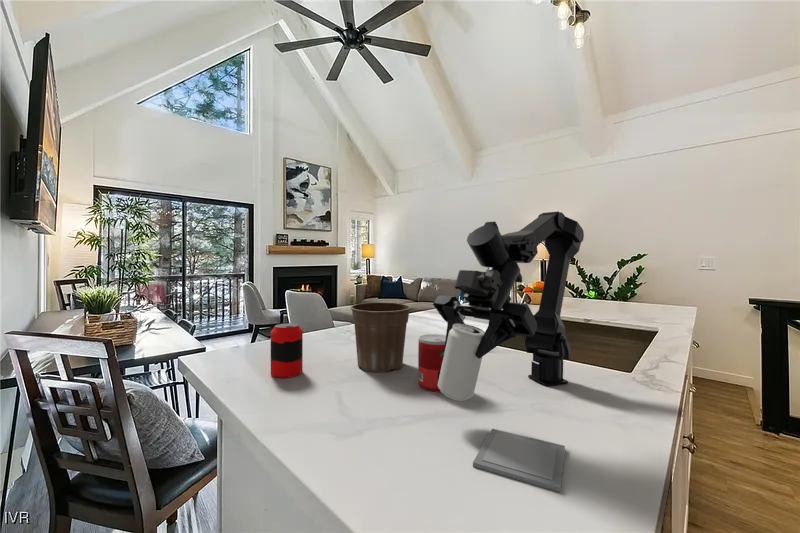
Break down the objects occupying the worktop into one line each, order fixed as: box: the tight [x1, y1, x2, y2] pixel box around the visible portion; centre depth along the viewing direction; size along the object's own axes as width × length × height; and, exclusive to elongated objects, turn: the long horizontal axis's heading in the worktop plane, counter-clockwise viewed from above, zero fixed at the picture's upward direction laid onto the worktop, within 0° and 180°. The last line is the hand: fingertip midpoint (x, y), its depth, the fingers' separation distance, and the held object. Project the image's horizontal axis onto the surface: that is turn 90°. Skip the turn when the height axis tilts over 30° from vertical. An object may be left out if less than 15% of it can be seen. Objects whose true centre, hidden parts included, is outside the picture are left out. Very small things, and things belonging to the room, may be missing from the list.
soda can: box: [270, 322, 304, 379], centre depth 86 cm, size 8×8×12 cm
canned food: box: [417, 333, 446, 393], centre depth 79 cm, size 8×8×11 cm
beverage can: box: [438, 323, 486, 402], centre depth 60 cm, size 6×6×12 cm
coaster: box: [472, 428, 566, 493], centre depth 50 cm, size 11×11×1 cm
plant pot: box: [350, 302, 412, 373], centre depth 93 cm, size 16×16×16 cm
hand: (461, 352), depth 58 cm, fingers closed on beverage can, 6 cm apart
